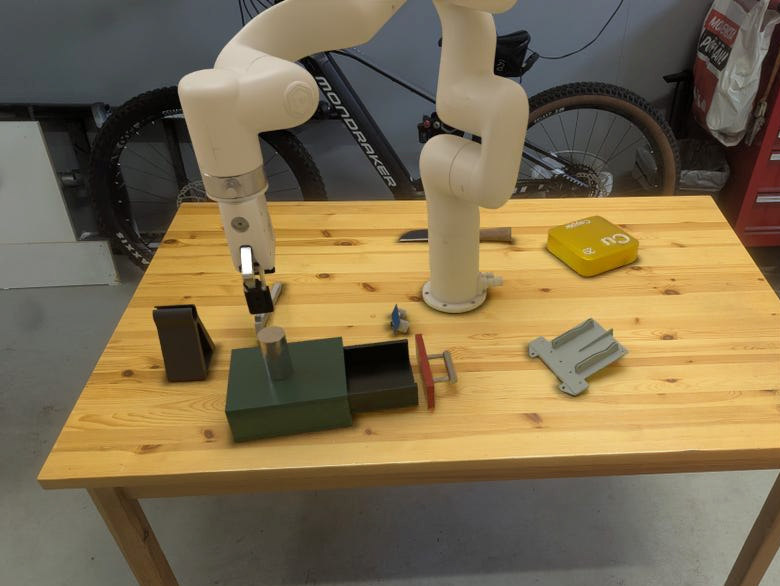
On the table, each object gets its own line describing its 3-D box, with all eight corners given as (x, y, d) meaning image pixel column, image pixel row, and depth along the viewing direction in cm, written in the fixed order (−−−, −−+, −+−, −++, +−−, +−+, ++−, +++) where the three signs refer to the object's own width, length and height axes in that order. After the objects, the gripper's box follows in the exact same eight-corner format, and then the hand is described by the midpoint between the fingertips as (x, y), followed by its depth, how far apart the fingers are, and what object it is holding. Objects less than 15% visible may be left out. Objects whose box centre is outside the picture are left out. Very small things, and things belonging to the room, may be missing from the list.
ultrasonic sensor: (402, 339, 121) (410, 325, 120) (390, 336, 120) (398, 322, 119) (399, 320, 126) (406, 306, 124) (387, 317, 125) (394, 303, 123)
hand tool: (399, 224, 149) (510, 220, 148) (401, 236, 151) (511, 232, 150) (397, 235, 145) (511, 231, 144) (399, 248, 147) (511, 244, 146)
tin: (293, 362, 104) (285, 324, 100) (293, 379, 101) (284, 340, 97) (267, 365, 104) (257, 327, 99) (266, 382, 101) (256, 343, 96)
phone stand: (205, 380, 111) (185, 322, 103) (168, 382, 110) (145, 324, 102) (215, 346, 118) (198, 290, 110) (180, 348, 117) (160, 292, 109)
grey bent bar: (266, 349, 117) (259, 320, 113) (259, 349, 117) (252, 320, 113) (282, 285, 133) (277, 258, 129) (277, 285, 133) (271, 258, 129)
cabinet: (346, 366, 114) (341, 336, 110) (352, 426, 103) (347, 395, 99) (240, 379, 111) (231, 349, 107) (234, 442, 100) (224, 411, 96)
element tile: (596, 230, 152) (599, 211, 149) (640, 260, 142) (644, 240, 139) (542, 247, 146) (544, 227, 143) (584, 279, 136) (587, 259, 133)
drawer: (447, 352, 116) (446, 330, 113) (461, 404, 106) (461, 381, 103) (326, 367, 112) (322, 345, 109) (329, 422, 102) (325, 399, 99)
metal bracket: (588, 301, 120) (639, 348, 109) (591, 324, 124) (641, 371, 114) (520, 340, 117) (567, 392, 107) (526, 361, 121) (572, 413, 111)
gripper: (264, 208, 76) (290, 325, 88) (268, 147, 89) (290, 257, 100) (196, 214, 75) (231, 332, 86) (209, 152, 88) (239, 262, 99)
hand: (263, 292), depth 93 cm, fingers open, 9 cm apart
